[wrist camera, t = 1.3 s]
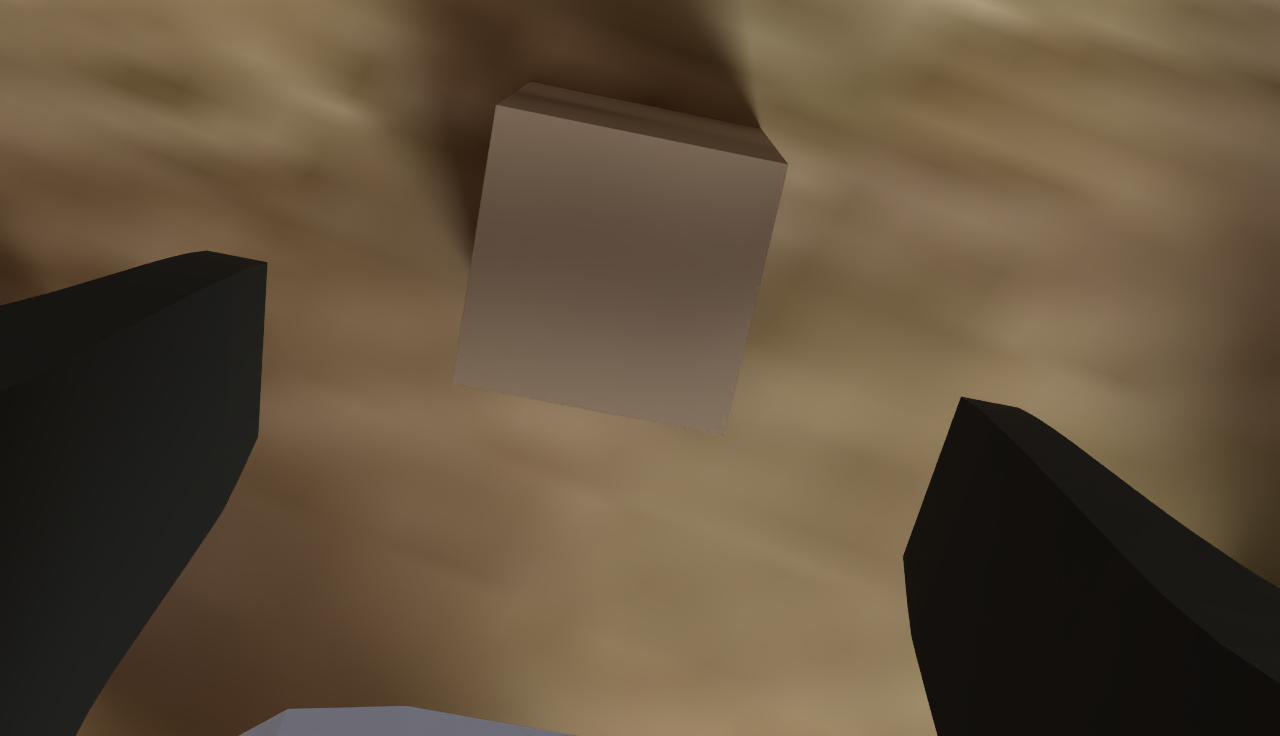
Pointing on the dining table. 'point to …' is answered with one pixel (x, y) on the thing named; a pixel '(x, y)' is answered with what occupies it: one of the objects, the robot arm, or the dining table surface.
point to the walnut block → (617, 256)
